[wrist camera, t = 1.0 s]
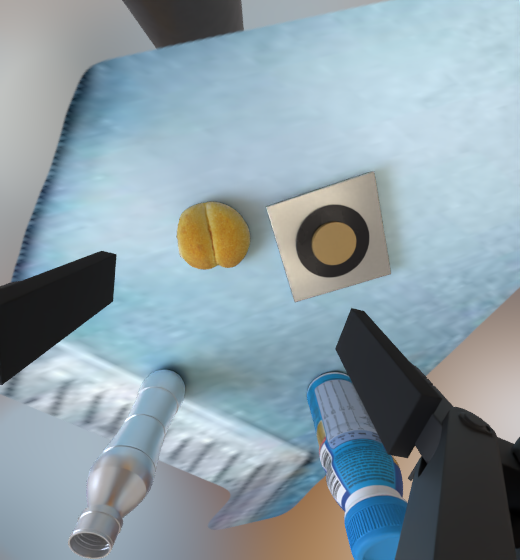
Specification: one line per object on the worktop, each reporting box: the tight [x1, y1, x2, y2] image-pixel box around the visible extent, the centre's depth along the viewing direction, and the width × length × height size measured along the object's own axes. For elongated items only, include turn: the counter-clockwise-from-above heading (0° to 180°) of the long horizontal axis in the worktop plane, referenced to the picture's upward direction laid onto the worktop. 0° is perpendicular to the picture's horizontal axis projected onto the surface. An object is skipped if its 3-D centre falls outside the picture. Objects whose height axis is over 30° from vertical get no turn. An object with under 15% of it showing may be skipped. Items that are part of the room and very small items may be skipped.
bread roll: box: [177, 202, 250, 269], centre depth 32 cm, size 8×9×4 cm
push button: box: [266, 171, 391, 302], centre depth 32 cm, size 13×13×3 cm
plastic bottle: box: [68, 370, 185, 559], centre depth 31 cm, size 6×7×20 cm
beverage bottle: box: [307, 372, 408, 560], centre depth 32 cm, size 8×8×20 cm
